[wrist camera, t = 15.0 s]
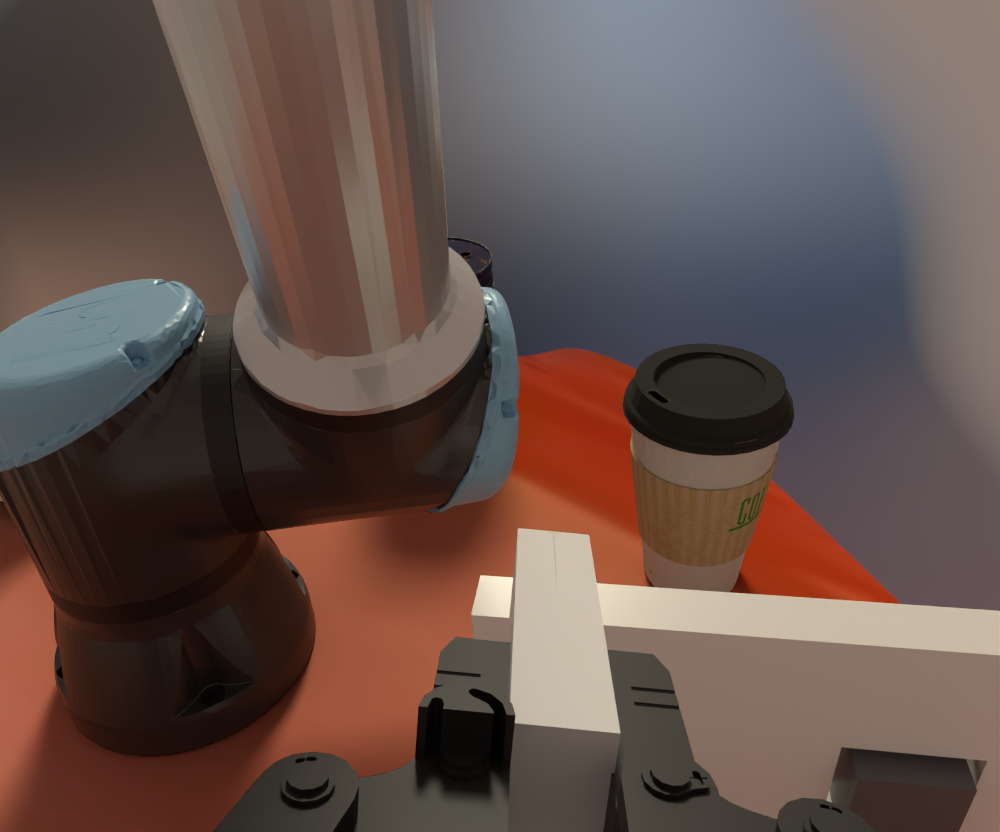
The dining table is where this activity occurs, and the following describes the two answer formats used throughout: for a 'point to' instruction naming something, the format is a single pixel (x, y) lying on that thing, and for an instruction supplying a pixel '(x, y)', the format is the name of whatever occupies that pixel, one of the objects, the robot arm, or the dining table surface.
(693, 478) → the coffee cup
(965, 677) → the button panel
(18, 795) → the dining table surface
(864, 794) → the black button
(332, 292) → the robot arm
